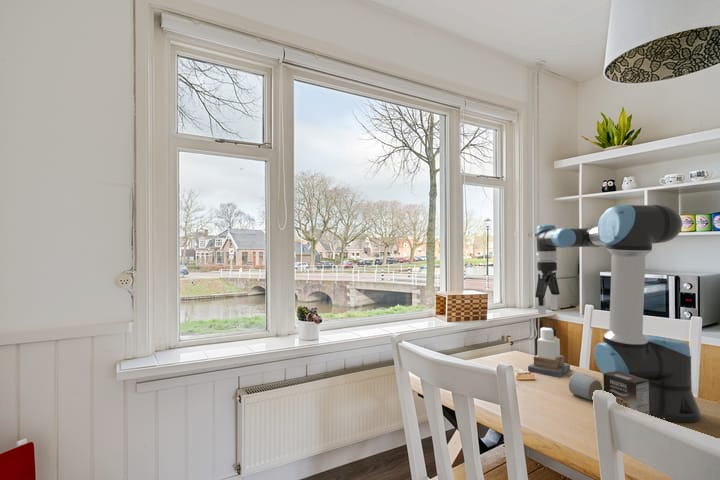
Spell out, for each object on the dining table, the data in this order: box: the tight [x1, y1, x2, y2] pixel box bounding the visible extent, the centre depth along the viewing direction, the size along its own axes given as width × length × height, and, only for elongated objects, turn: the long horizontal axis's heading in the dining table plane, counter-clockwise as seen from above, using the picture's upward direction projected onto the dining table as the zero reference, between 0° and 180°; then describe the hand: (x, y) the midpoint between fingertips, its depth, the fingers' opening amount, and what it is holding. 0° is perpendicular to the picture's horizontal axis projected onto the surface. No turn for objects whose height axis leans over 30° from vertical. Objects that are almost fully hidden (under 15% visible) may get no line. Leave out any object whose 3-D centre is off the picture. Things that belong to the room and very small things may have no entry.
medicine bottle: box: [536, 326, 561, 359], centre depth 170 cm, size 7×7×12 cm
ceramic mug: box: [568, 372, 603, 401], centre depth 140 cm, size 11×8×8 cm
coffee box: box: [602, 371, 650, 416], centre depth 112 cm, size 9×6×16 cm
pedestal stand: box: [527, 354, 571, 378], centre depth 170 cm, size 14×12×6 cm
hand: (548, 311), depth 170 cm, fingers open, 13 cm apart
